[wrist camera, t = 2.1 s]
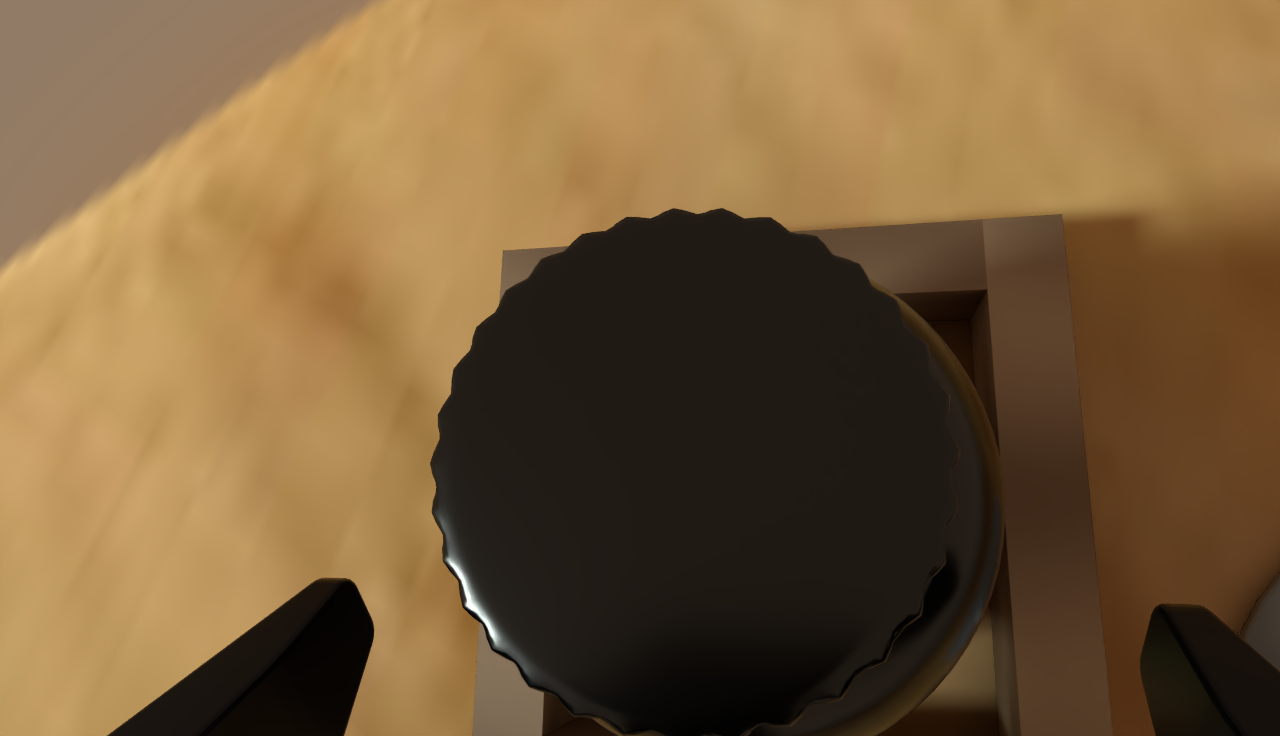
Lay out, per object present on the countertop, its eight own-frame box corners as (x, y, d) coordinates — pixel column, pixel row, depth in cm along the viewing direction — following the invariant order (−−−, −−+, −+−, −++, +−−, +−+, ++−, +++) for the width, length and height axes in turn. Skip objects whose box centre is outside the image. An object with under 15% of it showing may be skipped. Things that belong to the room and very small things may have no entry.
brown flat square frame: (1088, 836, 16) (1127, 878, 14) (509, 784, 19) (467, 812, 17) (1036, 253, 19) (1062, 214, 16) (535, 280, 21) (502, 250, 19)
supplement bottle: (958, 666, 17) (1205, 880, 6) (640, 688, 18) (327, 898, 7) (901, 352, 19) (1005, 34, 7) (614, 393, 20) (327, 177, 9)
